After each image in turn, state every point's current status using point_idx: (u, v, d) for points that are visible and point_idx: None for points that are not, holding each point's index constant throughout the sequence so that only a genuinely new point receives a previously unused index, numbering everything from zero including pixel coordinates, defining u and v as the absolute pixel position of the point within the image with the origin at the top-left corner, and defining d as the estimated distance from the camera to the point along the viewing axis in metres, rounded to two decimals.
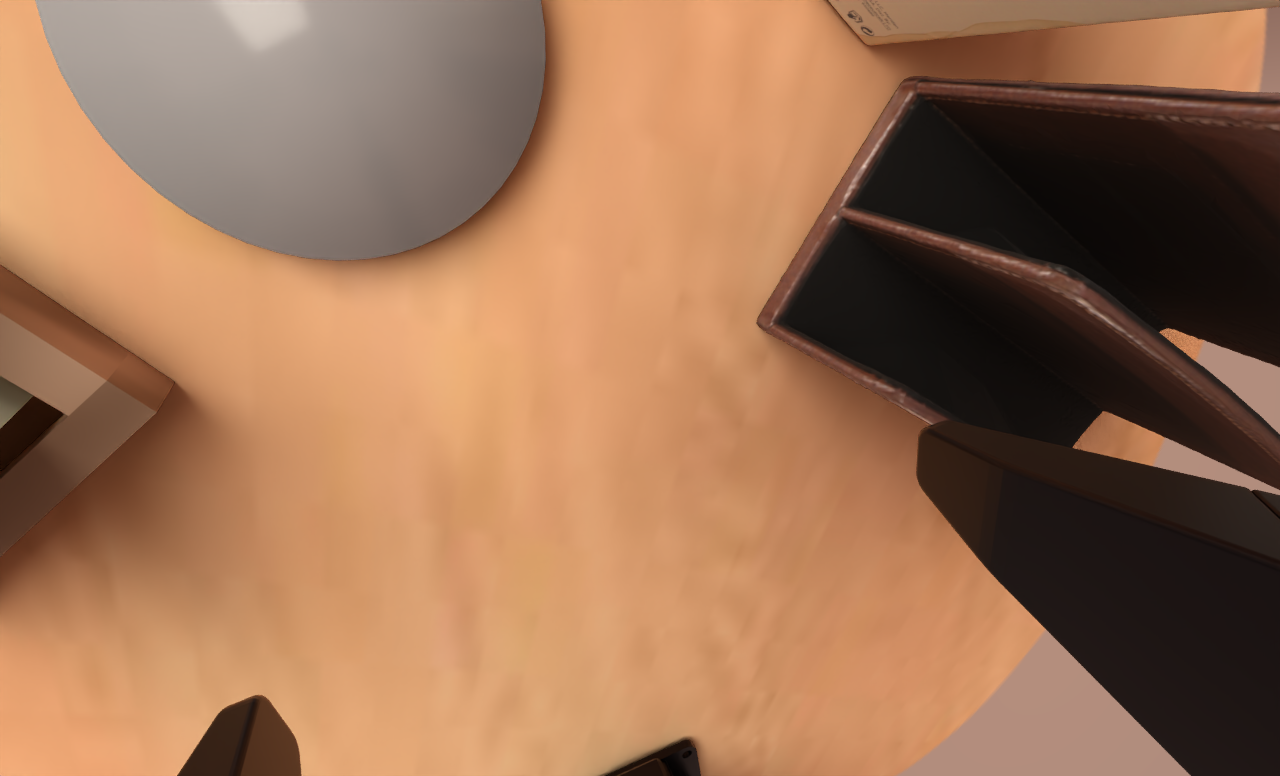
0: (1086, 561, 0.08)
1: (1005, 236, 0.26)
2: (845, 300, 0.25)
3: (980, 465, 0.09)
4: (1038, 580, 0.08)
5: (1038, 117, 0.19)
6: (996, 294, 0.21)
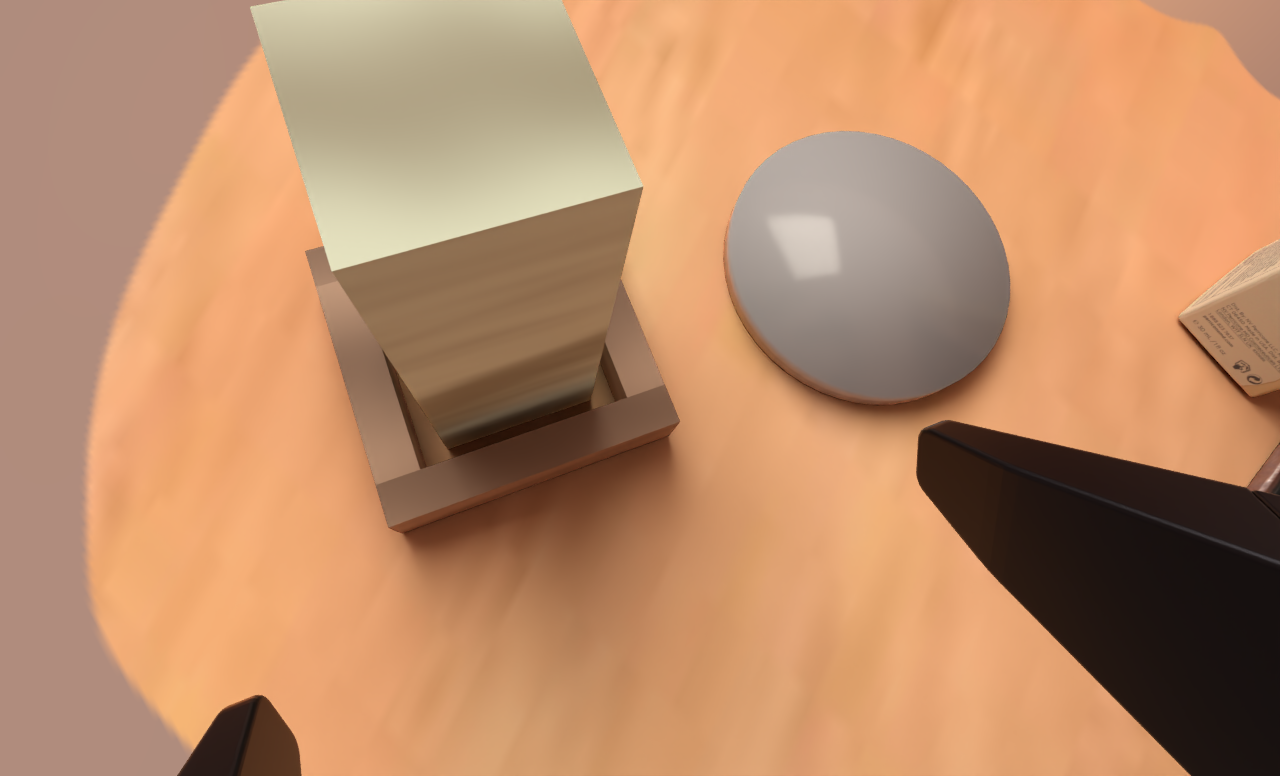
0: (1086, 561, 0.08)
1: None
2: None
3: (980, 465, 0.09)
4: (1038, 580, 0.08)
5: None
6: None
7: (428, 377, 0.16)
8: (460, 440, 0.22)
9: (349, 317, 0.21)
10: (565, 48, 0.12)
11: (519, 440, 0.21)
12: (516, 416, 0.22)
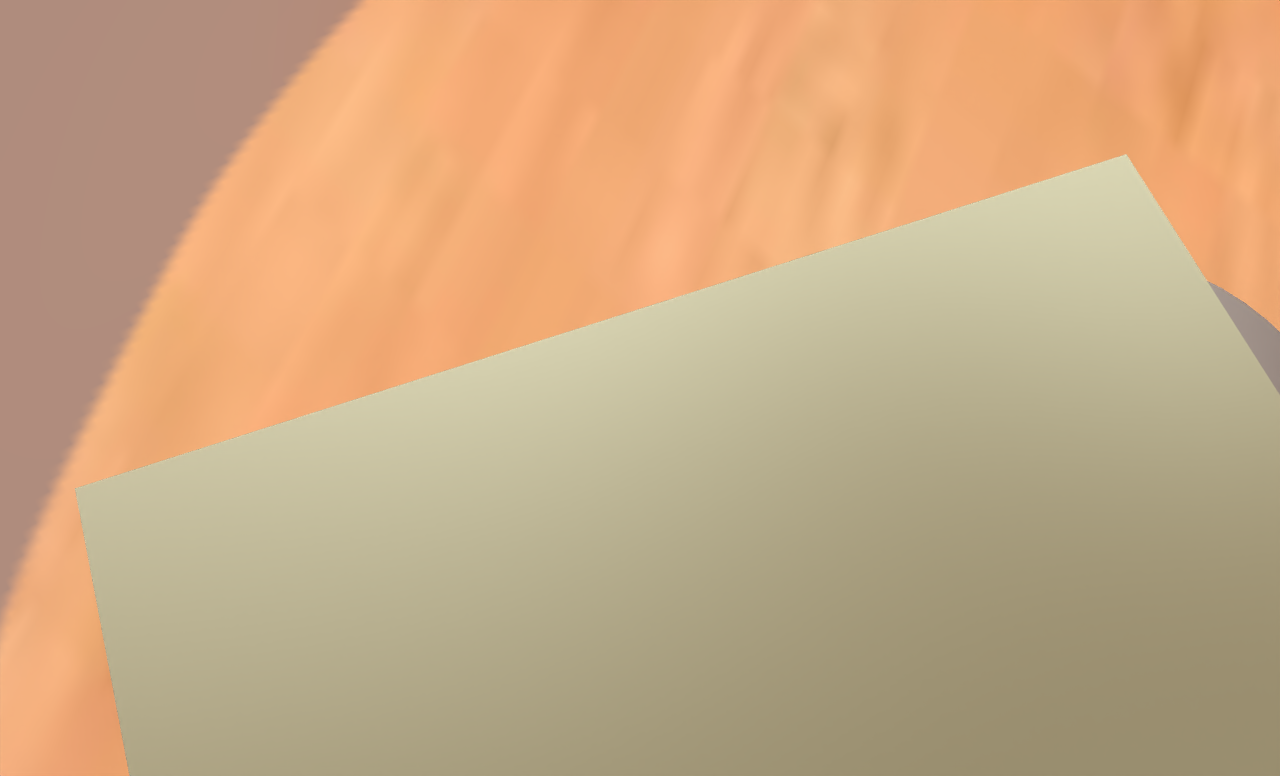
0: None
1: None
2: None
3: None
4: None
5: None
6: None
7: None
8: None
9: None
10: None
11: None
12: None
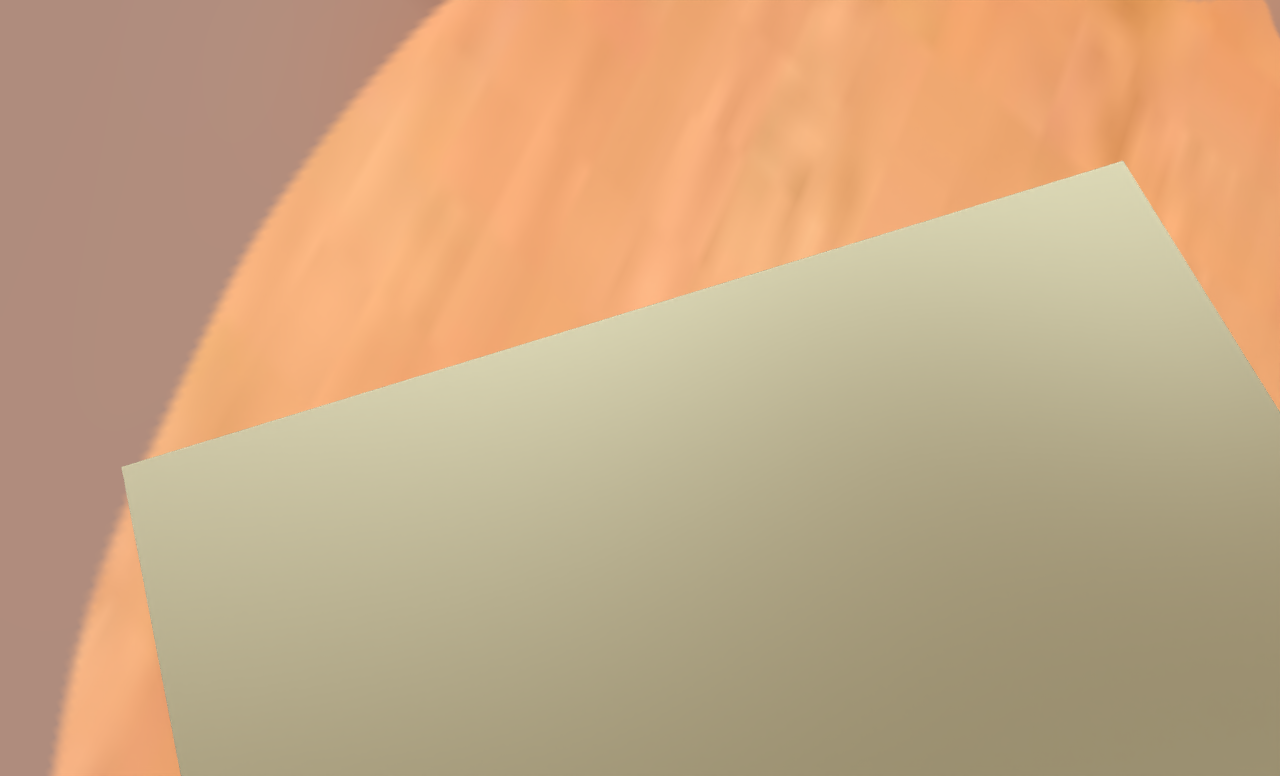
0: None
1: None
2: None
3: None
4: None
5: None
6: None
7: None
8: None
9: None
10: None
11: None
12: None
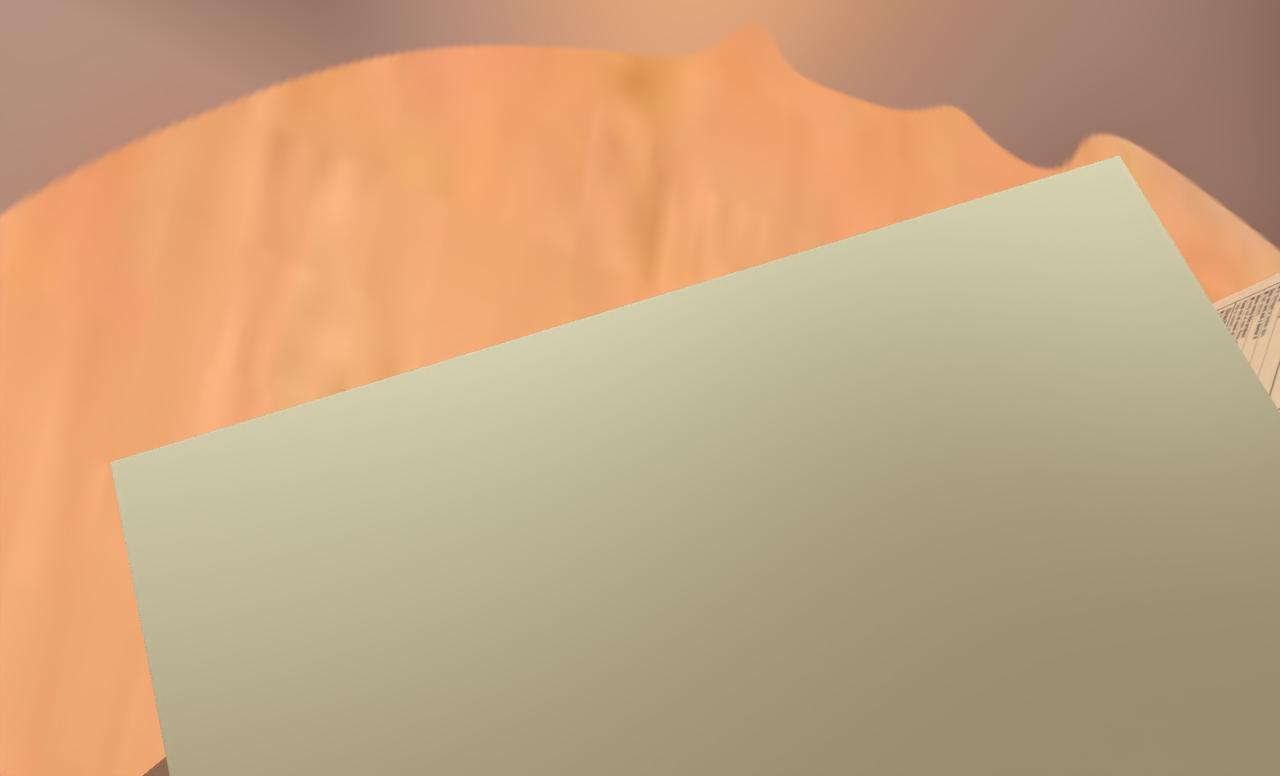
0: None
1: None
2: None
3: None
4: None
5: None
6: None
7: None
8: None
9: None
10: None
11: None
12: None
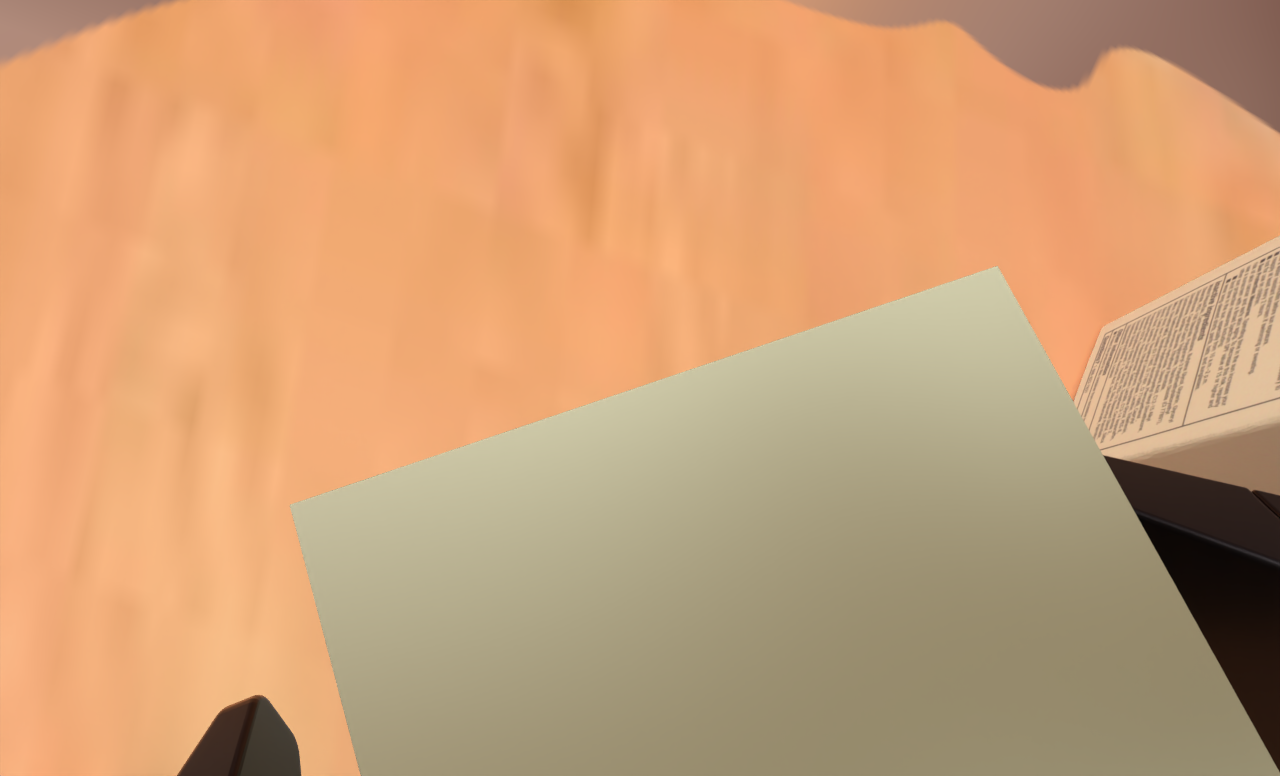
0: None
1: None
2: None
3: None
4: None
5: None
6: None
7: None
8: None
9: None
10: (1114, 550, 0.04)
11: None
12: None
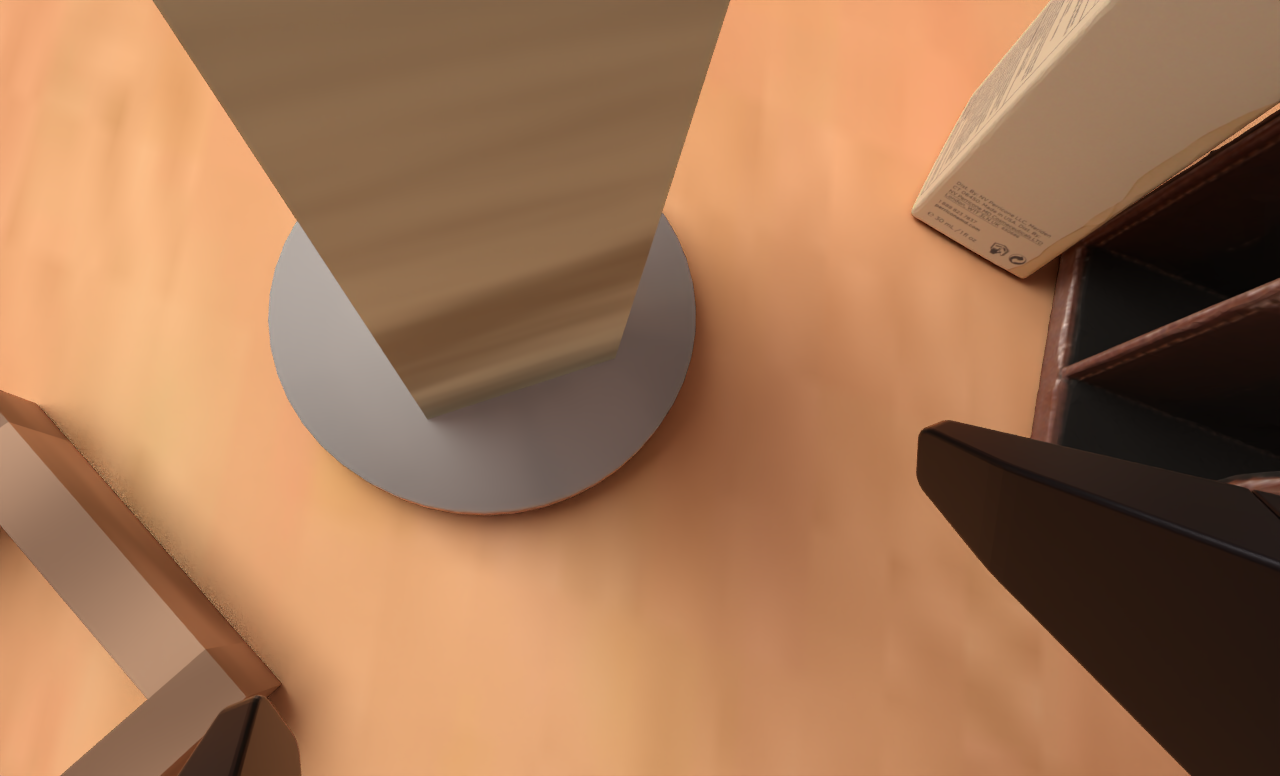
0: (1086, 561, 0.08)
1: None
2: None
3: (980, 465, 0.09)
4: (1038, 580, 0.08)
5: (1247, 177, 0.17)
6: None
7: (385, 292, 0.10)
8: (444, 407, 0.16)
9: None
10: None
11: None
12: (519, 375, 0.16)
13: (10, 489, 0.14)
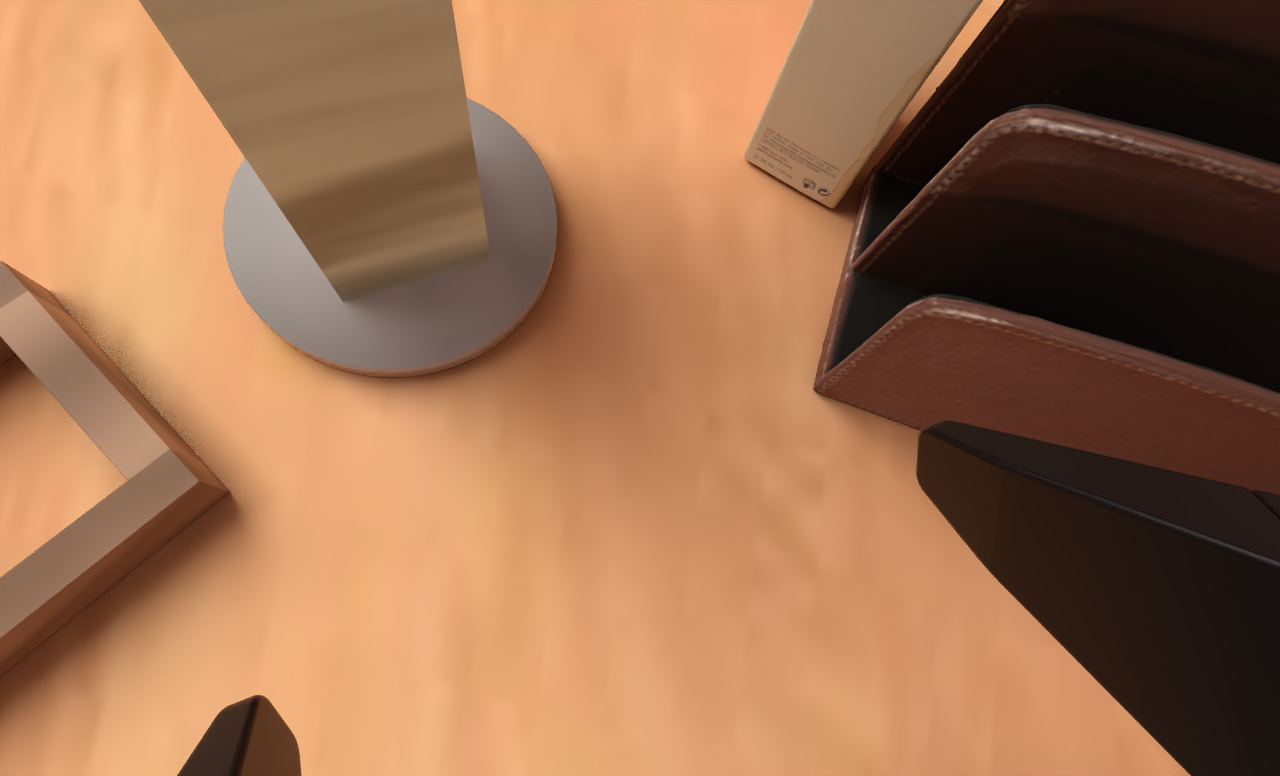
0: (1086, 561, 0.08)
1: None
2: None
3: (980, 465, 0.09)
4: (1038, 580, 0.08)
5: (959, 106, 0.23)
6: (1017, 245, 0.21)
7: (277, 165, 0.16)
8: (353, 289, 0.22)
9: None
10: None
11: (5, 581, 0.18)
12: (409, 265, 0.22)
13: (29, 337, 0.20)
